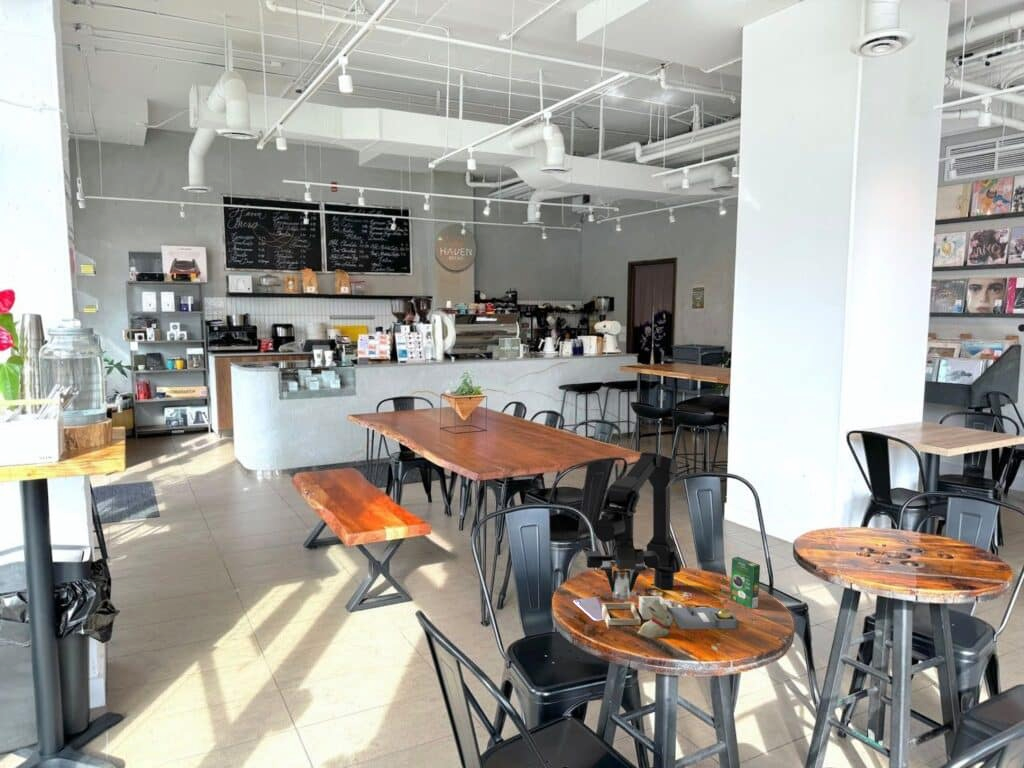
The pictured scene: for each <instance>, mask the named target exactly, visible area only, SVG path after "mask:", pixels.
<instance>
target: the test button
mask: <svg viewBox="0 0 1024 768" xmlns="http://www.w3.org/2000/svg"><path fill="white" fill-rule="evenodd" d="M731 612H732V610H730V609H728V608H720V609H718V619H731Z"/></svg>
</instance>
